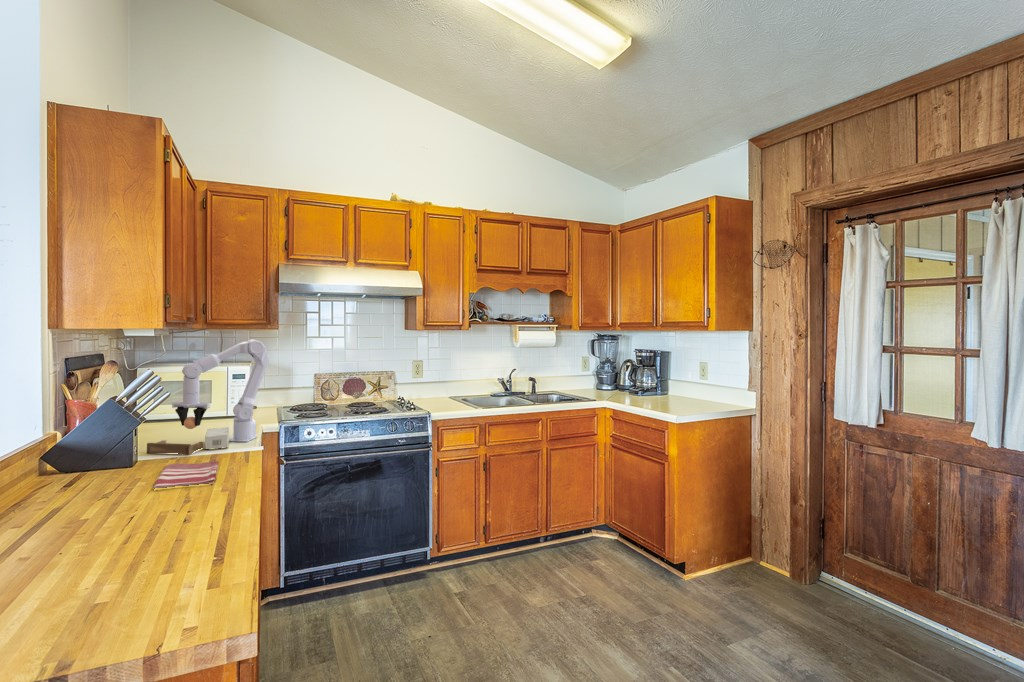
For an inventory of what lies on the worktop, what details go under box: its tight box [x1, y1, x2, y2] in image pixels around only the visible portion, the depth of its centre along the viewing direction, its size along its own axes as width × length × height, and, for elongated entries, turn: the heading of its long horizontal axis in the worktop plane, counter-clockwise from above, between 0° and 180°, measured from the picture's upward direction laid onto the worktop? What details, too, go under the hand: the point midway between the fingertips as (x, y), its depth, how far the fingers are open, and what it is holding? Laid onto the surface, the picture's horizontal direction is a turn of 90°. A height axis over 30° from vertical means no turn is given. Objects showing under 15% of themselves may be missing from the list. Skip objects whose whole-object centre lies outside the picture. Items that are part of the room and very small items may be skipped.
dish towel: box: [153, 460, 220, 489], centre depth 169 cm, size 17×23×3 cm
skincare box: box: [204, 426, 230, 450], centre depth 209 cm, size 8×6×15 cm
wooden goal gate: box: [146, 439, 204, 456], centre depth 198 cm, size 9×17×4 cm, turn 90°
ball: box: [183, 416, 197, 430], centre depth 207 cm, size 5×5×5 cm
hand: (190, 425), depth 207 cm, fingers closed on ball, 5 cm apart
